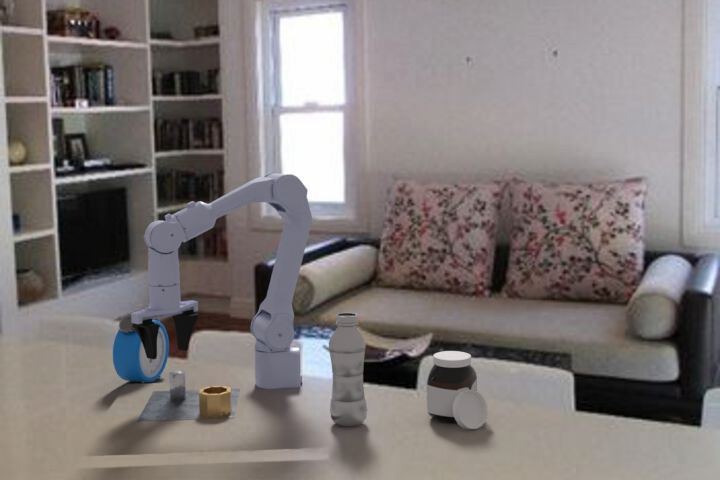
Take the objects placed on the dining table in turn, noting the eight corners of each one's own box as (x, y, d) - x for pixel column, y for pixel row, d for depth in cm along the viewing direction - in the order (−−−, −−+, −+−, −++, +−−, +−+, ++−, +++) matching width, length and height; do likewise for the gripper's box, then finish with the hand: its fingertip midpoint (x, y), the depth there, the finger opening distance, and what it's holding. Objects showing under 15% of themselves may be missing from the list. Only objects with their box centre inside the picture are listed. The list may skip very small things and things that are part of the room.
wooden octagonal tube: (232, 406, 161) (231, 385, 161) (230, 415, 156) (229, 394, 155) (202, 407, 161) (201, 386, 160) (198, 417, 155) (197, 395, 155)
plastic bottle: (363, 431, 151) (362, 319, 149) (325, 429, 153) (324, 317, 150) (370, 419, 158) (369, 311, 155) (334, 417, 159) (332, 310, 157)
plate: (240, 396, 173) (239, 364, 172) (233, 426, 155) (232, 390, 154) (153, 398, 171) (152, 366, 171) (137, 429, 154) (135, 393, 153)
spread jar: (444, 406, 165) (444, 347, 163) (500, 416, 159) (501, 354, 157) (415, 425, 154) (415, 361, 153) (474, 436, 149) (474, 370, 147)
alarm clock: (138, 390, 177) (135, 318, 175) (112, 388, 179) (109, 317, 177) (171, 374, 189) (168, 306, 187) (146, 371, 191) (143, 305, 189)
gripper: (180, 276, 172) (183, 343, 174) (119, 287, 161) (123, 359, 163) (204, 280, 168) (206, 348, 170) (143, 291, 157) (147, 364, 158)
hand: (167, 354), depth 166 cm, fingers open, 7 cm apart
